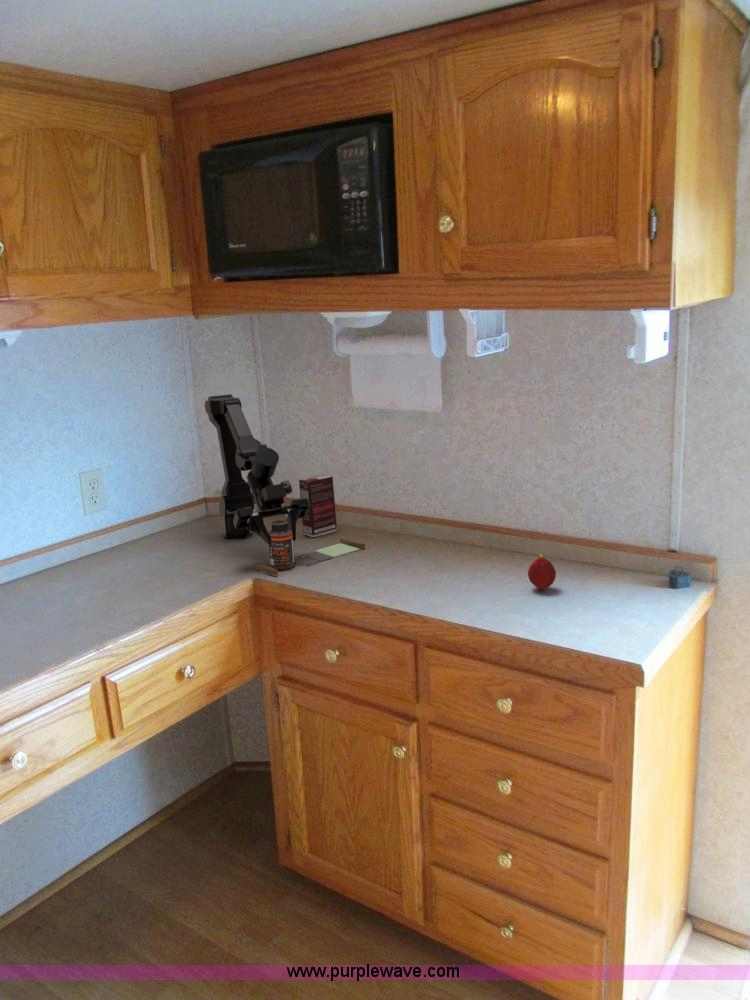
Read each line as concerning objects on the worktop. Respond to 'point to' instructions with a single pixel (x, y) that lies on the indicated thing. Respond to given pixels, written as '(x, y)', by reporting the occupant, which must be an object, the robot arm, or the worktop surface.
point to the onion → (541, 573)
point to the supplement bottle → (281, 545)
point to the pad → (337, 550)
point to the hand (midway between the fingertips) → (282, 542)
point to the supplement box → (319, 505)
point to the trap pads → (310, 558)
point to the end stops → (275, 571)
